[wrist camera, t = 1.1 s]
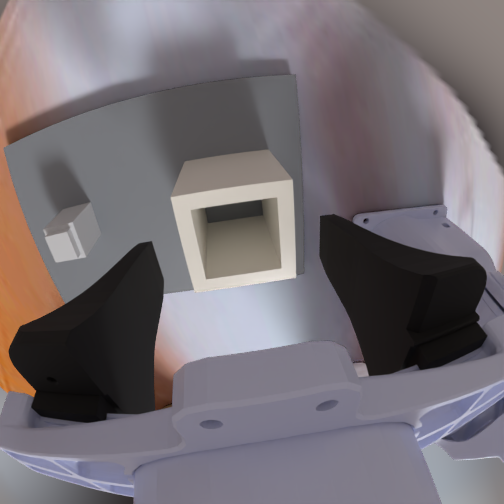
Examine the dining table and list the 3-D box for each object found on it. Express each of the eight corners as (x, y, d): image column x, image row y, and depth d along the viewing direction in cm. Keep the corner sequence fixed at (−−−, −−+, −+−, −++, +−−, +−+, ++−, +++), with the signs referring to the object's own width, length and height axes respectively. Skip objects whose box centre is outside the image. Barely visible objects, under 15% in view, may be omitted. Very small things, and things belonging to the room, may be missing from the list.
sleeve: (268, 149, 17) (292, 179, 12) (274, 223, 19) (296, 277, 14) (184, 161, 17) (170, 197, 11) (199, 234, 19) (194, 292, 14)
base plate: (291, 75, 15) (314, 71, 11) (300, 265, 23) (317, 304, 19) (11, 144, 14) (-27, 163, 11) (69, 297, 22) (52, 334, 18)
